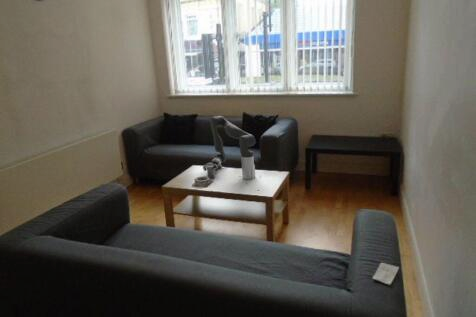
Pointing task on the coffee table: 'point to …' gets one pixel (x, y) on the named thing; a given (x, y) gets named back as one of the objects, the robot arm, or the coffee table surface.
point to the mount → (202, 181)
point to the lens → (210, 170)
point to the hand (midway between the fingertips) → (210, 169)
